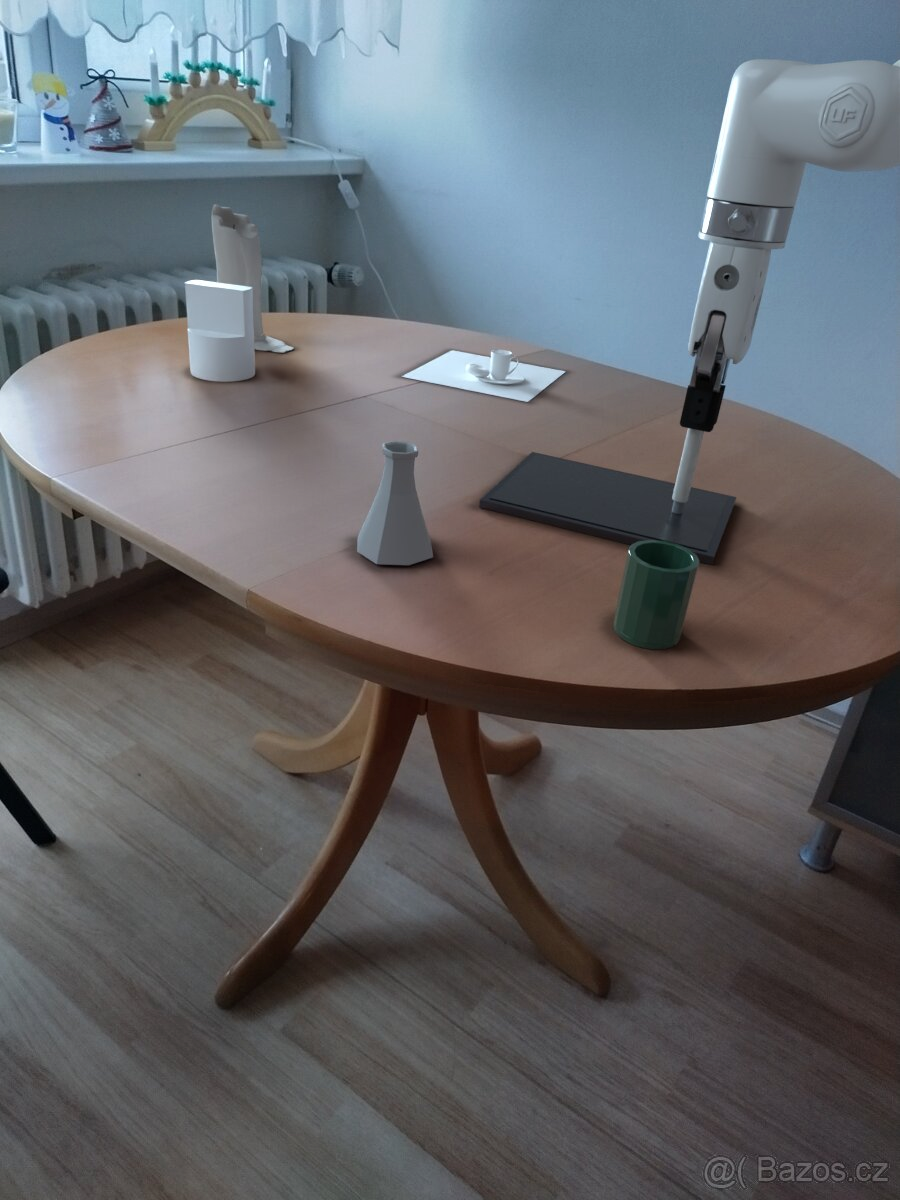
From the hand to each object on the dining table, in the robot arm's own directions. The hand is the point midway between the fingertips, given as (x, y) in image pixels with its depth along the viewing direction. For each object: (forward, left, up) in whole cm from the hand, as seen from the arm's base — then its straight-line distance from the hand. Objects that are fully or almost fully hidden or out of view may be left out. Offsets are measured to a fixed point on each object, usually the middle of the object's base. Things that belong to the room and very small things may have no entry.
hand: (698, 424), depth 85 cm
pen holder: (-2, +24, -11) cm, 26 cm away
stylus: (0, 0, -10) cm, 10 cm away
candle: (+74, -32, -11) cm, 81 cm away
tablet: (+7, 0, -11) cm, 13 cm away
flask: (+22, +22, -11) cm, 33 cm away
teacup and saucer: (+37, -40, -11) cm, 55 cm away
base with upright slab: (+68, -15, -11) cm, 70 cm away
